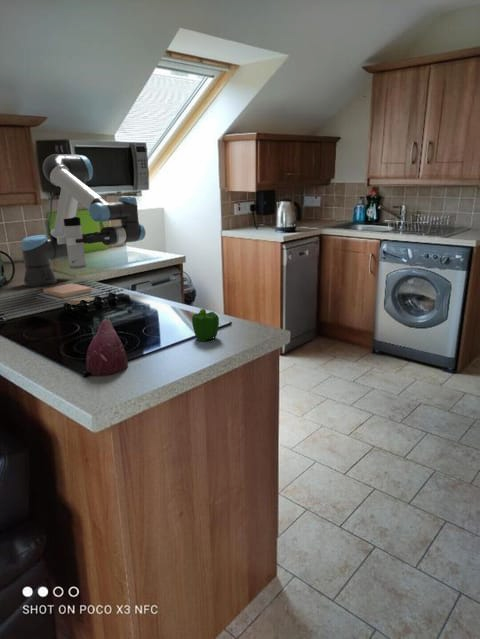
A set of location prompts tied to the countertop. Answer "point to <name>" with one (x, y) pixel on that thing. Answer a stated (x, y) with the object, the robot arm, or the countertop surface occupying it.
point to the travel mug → (74, 251)
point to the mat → (69, 297)
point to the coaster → (77, 300)
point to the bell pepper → (205, 324)
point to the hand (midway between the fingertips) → (62, 241)
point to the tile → (67, 290)
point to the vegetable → (106, 352)
